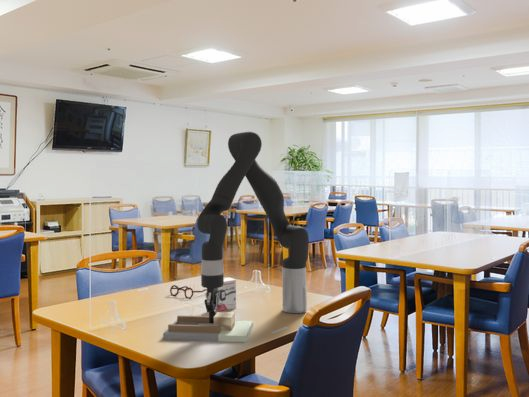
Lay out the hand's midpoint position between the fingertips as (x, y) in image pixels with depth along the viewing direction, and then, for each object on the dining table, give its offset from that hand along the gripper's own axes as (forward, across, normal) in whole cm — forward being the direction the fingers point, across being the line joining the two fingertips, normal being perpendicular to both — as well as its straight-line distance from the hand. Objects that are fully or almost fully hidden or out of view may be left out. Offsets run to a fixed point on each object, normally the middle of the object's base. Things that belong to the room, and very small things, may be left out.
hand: (212, 322), depth 175 cm
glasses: (+4, +52, +23) cm, 57 cm away
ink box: (+4, +30, +2) cm, 30 cm away
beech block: (+2, 0, -4) cm, 4 cm away
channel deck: (+4, 0, +1) cm, 4 cm away
